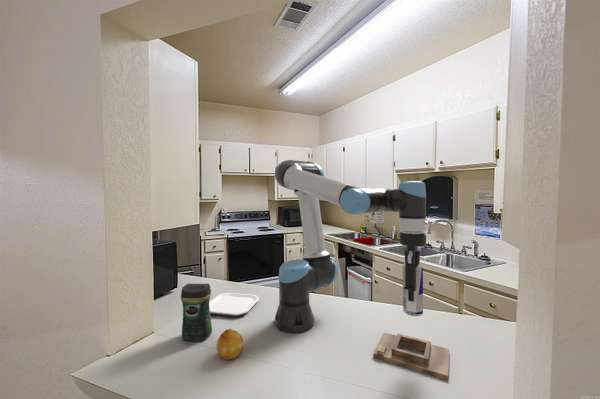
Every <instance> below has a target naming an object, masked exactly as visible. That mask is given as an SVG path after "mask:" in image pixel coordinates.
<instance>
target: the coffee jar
mask: <svg viewBox="0 0 600 399" xmlns="http://www.w3.org/2000/svg"><path fill="white" fill-rule="evenodd" d="M211 296H212V289H211V286H210V283H186V284H185V285H184V286H183V287H182V288H181V292H180V301H181V303H182V324H181V325H182V326H181V327H182V328H181V338H182V340H183V341H185V342H201V341H205V340H206V339H208V338H209V337H210V336H211V334H212V332H213V328H212V327H213V326H212V325H213V324H212V317H211V314H210V309H209V302H210V299H211Z"/></svg>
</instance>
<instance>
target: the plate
mask: <svg viewBox="0 0 600 399" xmlns="http://www.w3.org/2000/svg"><path fill="white" fill-rule="evenodd" d="M259 300H260V297H259V296H258V295H256V294H249V293H248V294H247V293H237V292H235V293H234V292H225V293H220V294H217V296H215V297H214V298H213V299H212V300H209V309H210V315H215V314H217V315H216V316H224V315H226V316H225V317H234V316H236V317H240V316H243V315H246V314H248V313H249V311H250V310H251V309H252V308H253V307H254V306H255V305H256V304H257V303H258V302H259Z"/></svg>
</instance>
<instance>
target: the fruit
mask: <svg viewBox="0 0 600 399" xmlns="http://www.w3.org/2000/svg"><path fill="white" fill-rule="evenodd" d="M243 348H244V338H243V336H242V334H240V333H239V332H238V331H236V330H235V329H232V328H229V329H226V330H224V331H223V332H222V333H221V334H220V335H219V337H218V339H217V342H216V351H217V353H218V356H219V357H220V358H221V359H223V360H233V359H235V358H237V357H238V356H239V355H240V354H241V353H242V350H243Z"/></svg>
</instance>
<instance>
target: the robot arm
mask: <svg viewBox="0 0 600 399" xmlns="http://www.w3.org/2000/svg"><path fill="white" fill-rule="evenodd" d="M274 178H275V181H276V183H277V184H278V185H279V186H281V187H282V188H285V189H287V190H290V191H293V193H294V195H295V196H296V197H297V198H298V204H299V205H298V206H299V211H300V220H301V226H302V227H301V228H302V234H303V241H304V249H305V253H304V255H303V256H302V259H299V258H298V259H292V260H287V261H285V262H283V263H282V264H281V265H280V267H279V270H278V281H279V282H278V289H279V290H278V294H279V295H278V302H279V304H278V306H277V310H276V313H275V317H274V326H275V328H277V329H278V330H279V331H281V332H283V333H284V332H285V333H289V334H299V333H304V332H307V331H309V330H311V328H313V326H314V324H315V316H314V313H313V309H312V307H311V304H310V293H312V292H314V291H317V290H319V289H322V288H327V287H328V286H330V285H333V284H334V283H335V281H336V280H337V278H338V275H339V269H338V264H337V262H336V261H335V259H334V258H333V257H332V256H331V253H330V252H329V251H327V249H326V242H325V234H324V228H323V221H322V215H321V214H322V213H321V206H320V200H323V201H325V202H328V203H331V204H333V205H336V206H339V207H341V209H342V210H343V212H345V213H347V214H349V215H361V214H369V213H379V212H391V213H392V212H394V213H399V214H398V216H399V217H398V226H399V227H398V230H399V231H400V232H399V235H398V236H399V240H398V241H399V244H400V245H402V246H405V247H406V250H405V251H404V263H405V287H404V289H406V305H407V311H412V312H417V300H416V267H418V264H420V263H421V262H420V261H421V260H420V256H421V250H420V248H419V247H424V246H426V245H427V233H426V231H427V225H429V222H428V220H427V193H426V192H427V191H426V184H425V182H423V181H421V180H420V181H419V180H415V181H414V180H411V181H410V180H409V181H401V182H399V183H398V184H399V185H398V187H397V188H363V187H359V186H355V185H353V184H349V183H345V182H342V181H338V180H336V179H333V178H329V177H326V176H325V172H324V170H323V168H322V167H321V165H319V164H318V163H316V162H312V161H303V160H293V159H286V160H283V161H282V162H280V163H279V164H278V165H277V166H276V168H275V170H274ZM319 199H320V200H319ZM426 220H427V221H426Z"/></svg>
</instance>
